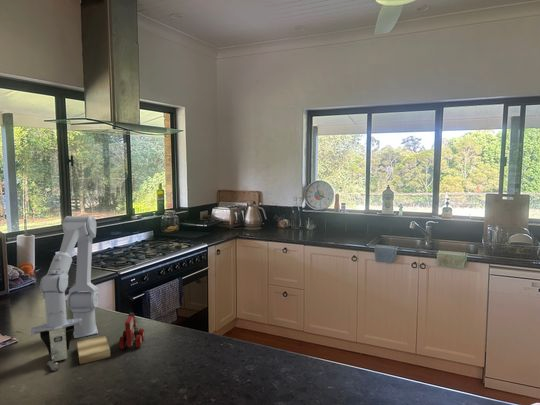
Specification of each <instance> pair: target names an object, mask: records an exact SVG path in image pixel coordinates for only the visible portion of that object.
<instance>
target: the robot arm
mask: <svg viewBox="0 0 540 405" xmlns="http://www.w3.org/2000/svg"><path fill="white" fill-rule="evenodd" d="M61 225H62V230H63V231H62V232H63V233H64V234H63V237H62V242H61V245H60V249H59V253H56V254H55V255H53V258H52V261H51V262H50V266H49V269H48V271H47V273H46V274H45V275H44V276H42V277H41V279H40V283H39V290H40V292H41V296H42V298H43V299H44V306H45V307H44V308H45V317H46V318H45V319H46V323H44V324H43V323H42V324H40V325H38V326H34V327H30V336H36V335H38V334H39V335H40V339H41V341H43V343H44V345H45V347H46V348H47V351H48V355H51V346H50V332H53V331H60V330H64V329H65V335H66V346H67V351H69V350H70V344H71V340H72V337H73V338H74V339H78V338H84V337H87V336H92V335H97V334H98V333H99V331H98V328H97V324H96V323H97V322H96V311H95V309H97V307H98V306H99V303H100V294H99V287H98V286H96V285H95V284H93V283H92V281H91V280H92V261H93V260H92V259H93V258H92V255H93V253H92V252H93V239H95V238H96V237H97V236H96V235H97V221H96V218H95V217H94V216H93V215H78V216H77V215H75V216H74V215H67V216H65V217H64V218H63V221H62V224H61ZM76 244H77V249H76V251H77V252H76V272H75V284H73V285H72V286H71V287H70V288H69V290H68V295H67V298H66V290H67V289H68V286H69V270H70V268H71V265H72V263H73V258H72V257H71V255H72V253H73V251H74V249H75V247H76ZM67 308H68V309H69V310H70V311H71V313H73V315H72V316H73V318H72V319H71V318H70V319H67V318H68V317H67Z"/></svg>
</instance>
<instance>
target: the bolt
mask: <svg viewBox="0 0 540 405" xmlns="http://www.w3.org/2000/svg"><path fill="white" fill-rule="evenodd" d="M46 365H47V367H48V368H50V371H52V372H56V371H57V372H58V370H60V368H61V365H60V363H59V362H57V361H54V362H52V360H48V362H47V363H46Z"/></svg>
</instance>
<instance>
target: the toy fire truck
mask: <svg viewBox="0 0 540 405" xmlns="http://www.w3.org/2000/svg"><path fill="white" fill-rule="evenodd" d="M124 329H125V330H123V331H122V336H120V337H119V343H118V344H119V345H118V348H119V349H120V350H124V349H125V348H126V346H127V347H128V348H129V347H133V345H134V344H135V347H136V348H141V347H142V342H143V341H144V340H145V329H144V328H138V324H137V320H136V316H135V313H134V312H129V313H128V314H127V319H126V320H125V323H124Z"/></svg>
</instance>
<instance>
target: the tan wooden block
mask: <svg viewBox="0 0 540 405" xmlns="http://www.w3.org/2000/svg"><path fill="white" fill-rule="evenodd" d="M76 347H77V348H76V349H77V354H78V355H77V356H78V360H79V365H83V364H87V363H91V362H95V361H99V360H103V359H107V358H111V348H110V345H109V342H108V338H107V336H106V335H102V336H98V337H92V338H87V339H85V340H78V341H76Z"/></svg>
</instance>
